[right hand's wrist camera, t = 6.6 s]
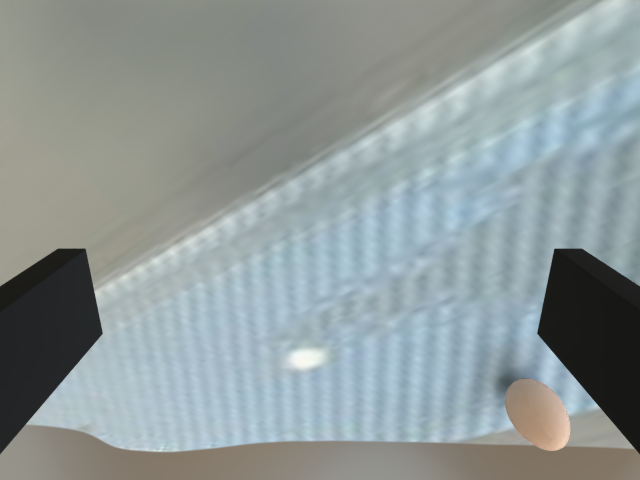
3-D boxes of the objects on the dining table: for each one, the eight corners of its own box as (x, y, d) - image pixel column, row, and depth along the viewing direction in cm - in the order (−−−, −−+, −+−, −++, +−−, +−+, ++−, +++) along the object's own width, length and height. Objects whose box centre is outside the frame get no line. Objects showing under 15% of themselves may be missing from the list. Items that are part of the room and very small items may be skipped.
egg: (504, 411, 49) (538, 474, 41) (487, 377, 47) (520, 436, 39) (549, 393, 48) (594, 454, 40) (534, 358, 46) (577, 414, 38)
